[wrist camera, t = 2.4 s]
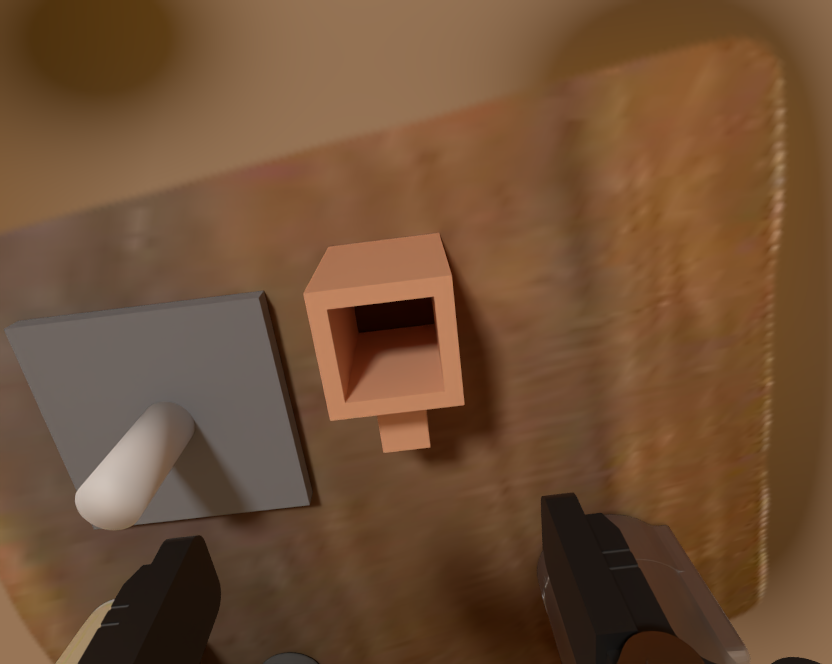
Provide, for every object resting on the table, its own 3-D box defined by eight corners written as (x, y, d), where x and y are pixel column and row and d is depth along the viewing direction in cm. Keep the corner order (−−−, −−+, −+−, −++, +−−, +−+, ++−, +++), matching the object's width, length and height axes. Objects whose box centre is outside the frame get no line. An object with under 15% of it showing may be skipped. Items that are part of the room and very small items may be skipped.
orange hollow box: (438, 232, 29) (451, 275, 21) (455, 389, 32) (471, 471, 25) (328, 246, 29) (303, 293, 21) (357, 400, 33) (344, 486, 25)
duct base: (263, 290, 30) (216, 352, 22) (312, 492, 35) (288, 597, 27) (18, 320, 30) (-111, 391, 22) (103, 516, 35) (22, 626, 28)
